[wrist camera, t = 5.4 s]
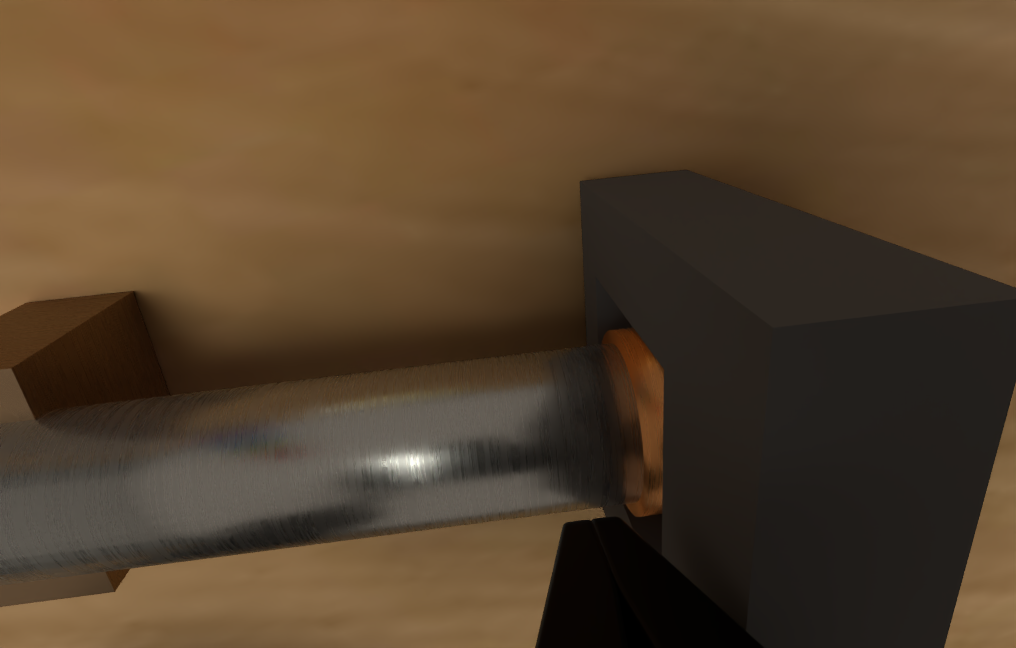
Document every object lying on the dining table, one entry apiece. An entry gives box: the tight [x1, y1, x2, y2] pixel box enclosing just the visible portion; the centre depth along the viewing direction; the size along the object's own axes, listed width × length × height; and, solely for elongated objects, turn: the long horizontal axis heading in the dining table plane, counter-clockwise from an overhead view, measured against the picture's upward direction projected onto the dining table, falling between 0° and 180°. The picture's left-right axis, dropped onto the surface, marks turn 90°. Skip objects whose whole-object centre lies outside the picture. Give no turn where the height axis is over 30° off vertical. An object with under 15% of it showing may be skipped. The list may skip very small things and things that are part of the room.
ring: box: [580, 170, 1016, 648], centre depth 11 cm, size 2×8×8 cm, turn 5°
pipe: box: [0, 291, 664, 607], centre depth 12 cm, size 18×5×6 cm, turn 95°
